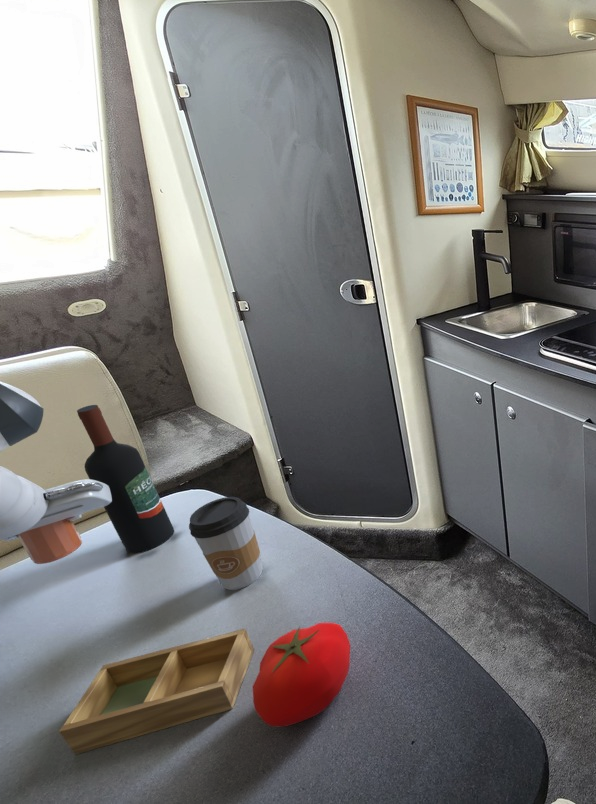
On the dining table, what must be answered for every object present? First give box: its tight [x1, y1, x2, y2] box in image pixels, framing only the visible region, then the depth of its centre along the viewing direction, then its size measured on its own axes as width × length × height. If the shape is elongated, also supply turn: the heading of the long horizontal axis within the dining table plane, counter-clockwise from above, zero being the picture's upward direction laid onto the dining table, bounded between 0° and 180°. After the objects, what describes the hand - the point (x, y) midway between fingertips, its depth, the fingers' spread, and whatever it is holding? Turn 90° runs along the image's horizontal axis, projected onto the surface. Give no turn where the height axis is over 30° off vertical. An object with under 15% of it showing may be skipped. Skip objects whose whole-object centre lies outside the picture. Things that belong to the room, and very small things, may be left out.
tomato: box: [252, 622, 351, 728], centre depth 67 cm, size 11×13×10 cm
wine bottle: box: [76, 404, 175, 554], centre depth 94 cm, size 8×8×30 cm
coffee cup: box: [188, 496, 264, 591], centre depth 87 cm, size 8×8×15 cm
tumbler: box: [17, 518, 83, 565], centre depth 86 cm, size 6×6×10 cm
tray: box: [58, 628, 255, 755], centre depth 68 cm, size 9×18×5 cm, turn 107°
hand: (45, 525), depth 86 cm, fingers closed on tumbler, 6 cm apart
